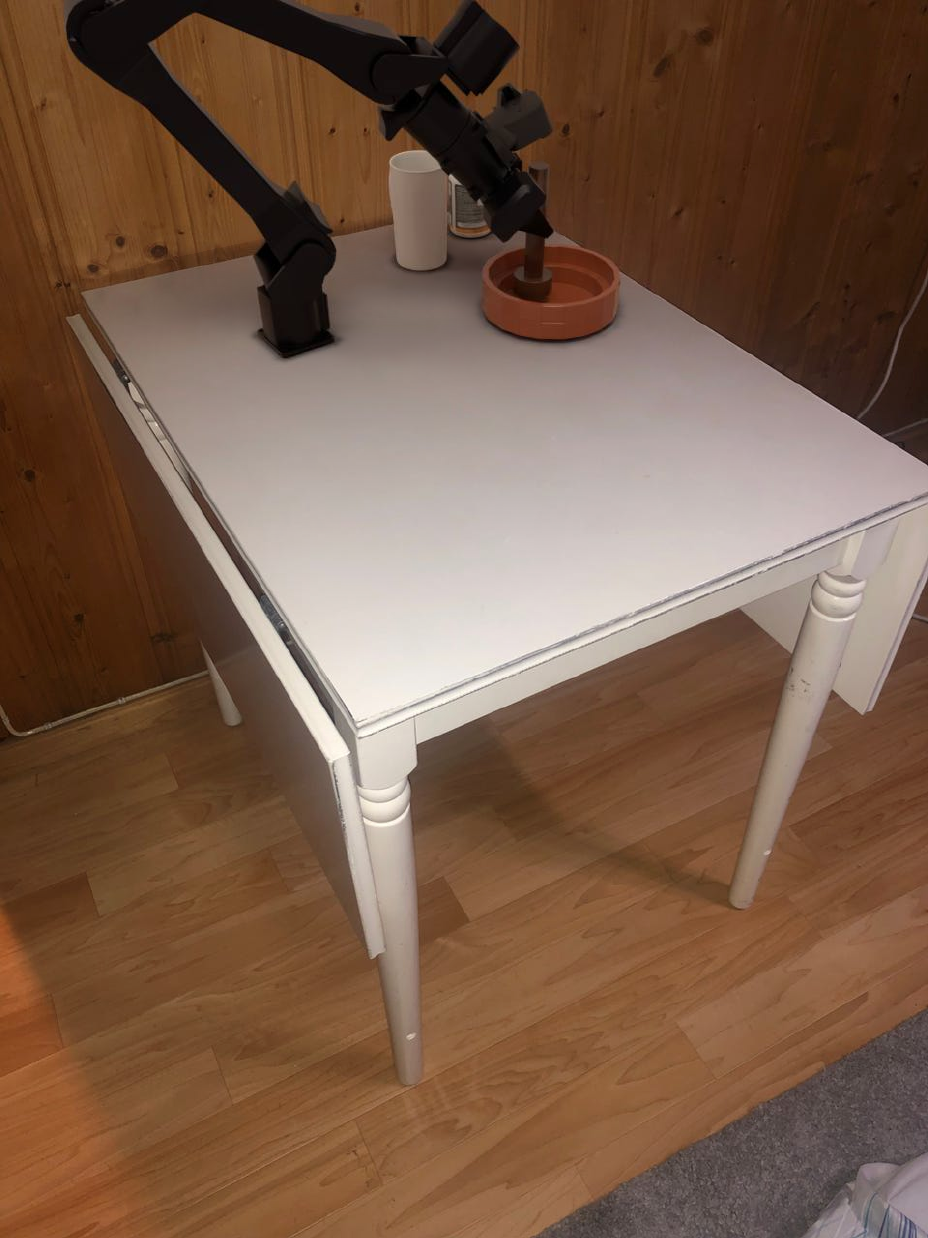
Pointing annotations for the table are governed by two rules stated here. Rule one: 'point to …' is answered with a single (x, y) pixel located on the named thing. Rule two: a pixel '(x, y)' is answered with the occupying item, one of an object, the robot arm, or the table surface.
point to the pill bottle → (465, 212)
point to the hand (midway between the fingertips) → (547, 229)
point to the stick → (535, 250)
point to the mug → (418, 210)
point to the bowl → (553, 293)
